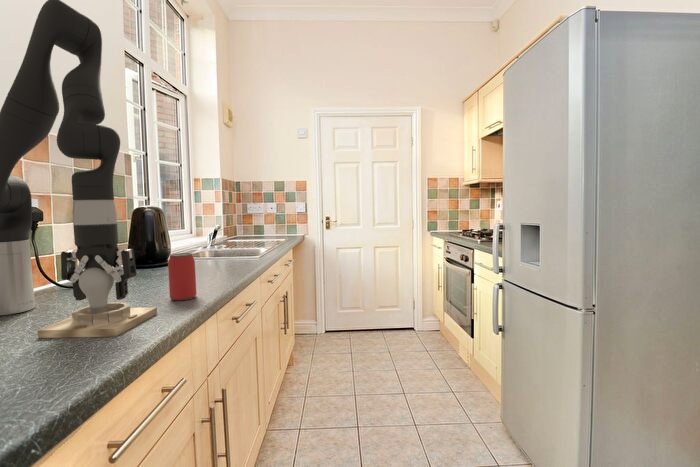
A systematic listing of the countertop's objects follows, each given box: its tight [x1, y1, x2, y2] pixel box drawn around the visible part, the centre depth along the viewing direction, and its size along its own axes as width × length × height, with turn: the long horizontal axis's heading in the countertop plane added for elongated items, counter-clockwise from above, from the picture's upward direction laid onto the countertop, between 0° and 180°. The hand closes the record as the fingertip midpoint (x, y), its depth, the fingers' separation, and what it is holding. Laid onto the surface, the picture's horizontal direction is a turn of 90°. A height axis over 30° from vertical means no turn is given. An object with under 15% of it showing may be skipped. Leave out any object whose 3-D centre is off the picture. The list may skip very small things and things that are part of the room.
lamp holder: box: [37, 301, 158, 339], centre depth 78 cm, size 15×15×4 cm
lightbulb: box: [79, 268, 115, 314], centre depth 78 cm, size 6×6×11 cm
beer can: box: [167, 252, 197, 302], centre depth 100 cm, size 7×7×12 cm
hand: (101, 299), depth 78 cm, fingers open, 8 cm apart
